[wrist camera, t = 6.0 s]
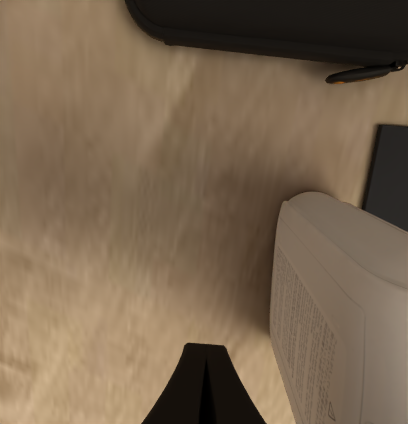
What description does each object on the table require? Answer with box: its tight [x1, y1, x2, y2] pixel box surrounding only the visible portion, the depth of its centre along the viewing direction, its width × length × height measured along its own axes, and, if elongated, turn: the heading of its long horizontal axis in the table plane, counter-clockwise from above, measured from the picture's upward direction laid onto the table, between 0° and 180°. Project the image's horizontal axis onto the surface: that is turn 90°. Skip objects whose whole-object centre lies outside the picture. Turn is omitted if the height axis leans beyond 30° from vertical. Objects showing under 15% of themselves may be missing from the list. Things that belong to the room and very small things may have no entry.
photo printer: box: [270, 192, 408, 424], centre depth 13 cm, size 10×4×12 cm, turn 179°
